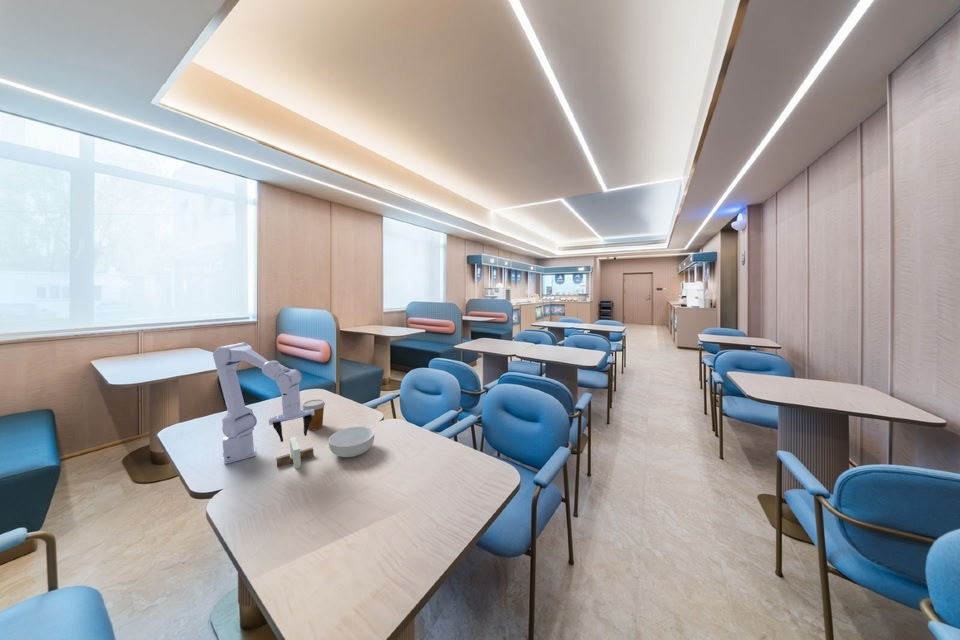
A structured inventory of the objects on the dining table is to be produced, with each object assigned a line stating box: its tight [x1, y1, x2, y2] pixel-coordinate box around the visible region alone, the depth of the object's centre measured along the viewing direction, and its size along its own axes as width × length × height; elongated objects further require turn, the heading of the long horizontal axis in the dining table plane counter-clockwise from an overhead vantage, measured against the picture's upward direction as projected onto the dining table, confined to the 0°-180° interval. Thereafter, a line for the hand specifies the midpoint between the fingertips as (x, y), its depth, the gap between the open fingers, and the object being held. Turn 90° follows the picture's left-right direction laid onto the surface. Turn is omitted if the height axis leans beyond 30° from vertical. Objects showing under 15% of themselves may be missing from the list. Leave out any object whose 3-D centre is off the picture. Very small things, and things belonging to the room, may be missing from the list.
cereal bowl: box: [328, 426, 375, 458], centre depth 124 cm, size 17×17×7 cm
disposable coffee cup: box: [301, 398, 326, 431], centre depth 146 cm, size 10×10×12 cm
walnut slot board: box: [275, 447, 315, 468], centre depth 119 cm, size 12×2×3 cm, turn 127°
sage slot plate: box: [289, 436, 302, 470], centre depth 119 cm, size 12×2×7 cm, turn 37°
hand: (293, 437), depth 118 cm, fingers open, 7 cm apart
